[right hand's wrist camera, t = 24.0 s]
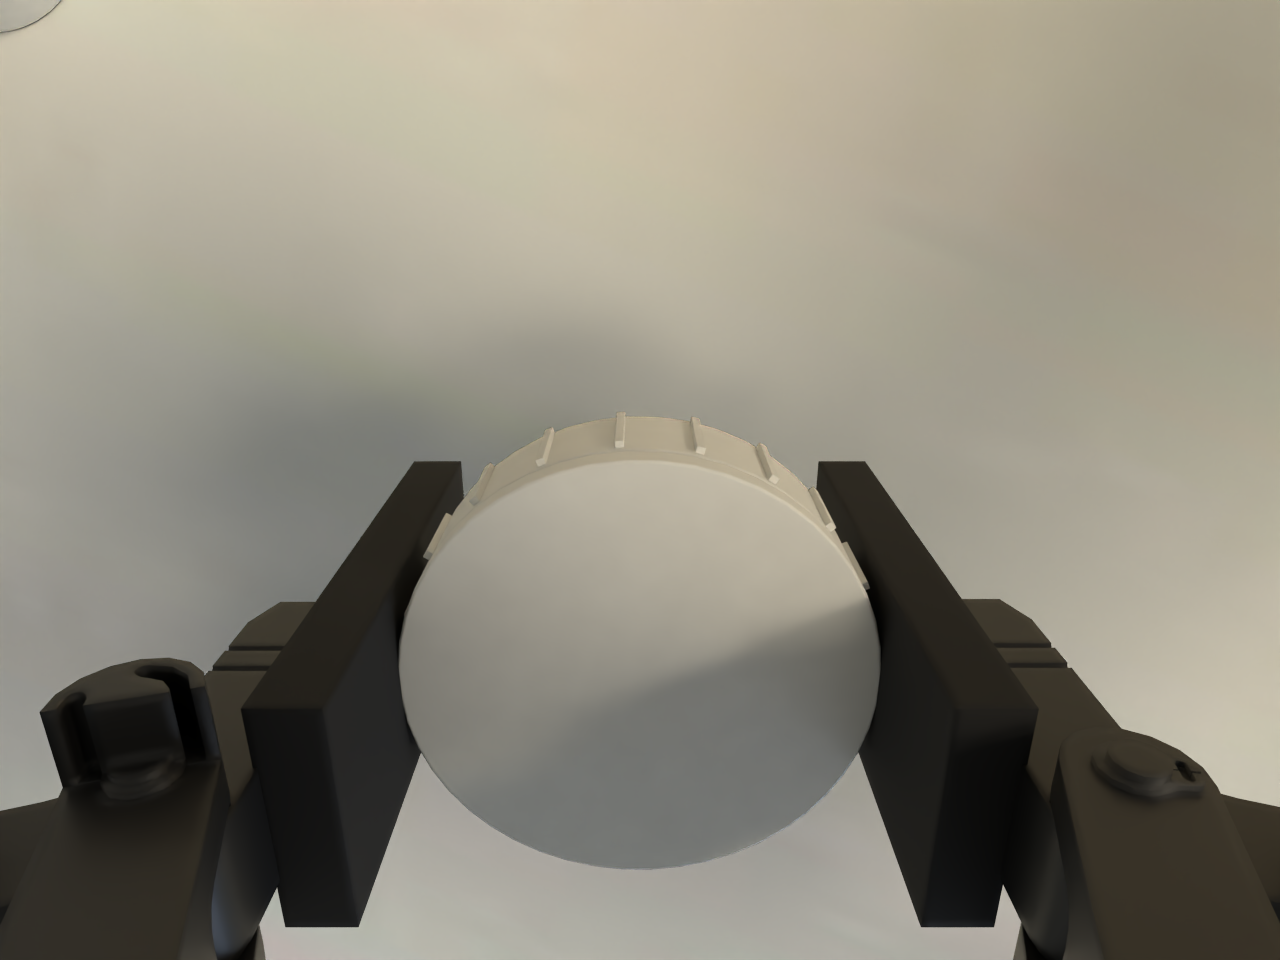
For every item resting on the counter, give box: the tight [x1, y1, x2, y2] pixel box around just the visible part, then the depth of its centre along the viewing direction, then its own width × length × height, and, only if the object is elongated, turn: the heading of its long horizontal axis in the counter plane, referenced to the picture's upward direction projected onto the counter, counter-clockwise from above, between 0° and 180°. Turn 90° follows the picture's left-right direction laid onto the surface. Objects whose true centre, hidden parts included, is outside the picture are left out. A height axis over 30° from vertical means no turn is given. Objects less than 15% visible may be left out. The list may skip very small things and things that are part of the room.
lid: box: [398, 412, 881, 869], centre depth 11 cm, size 6×6×2 cm
